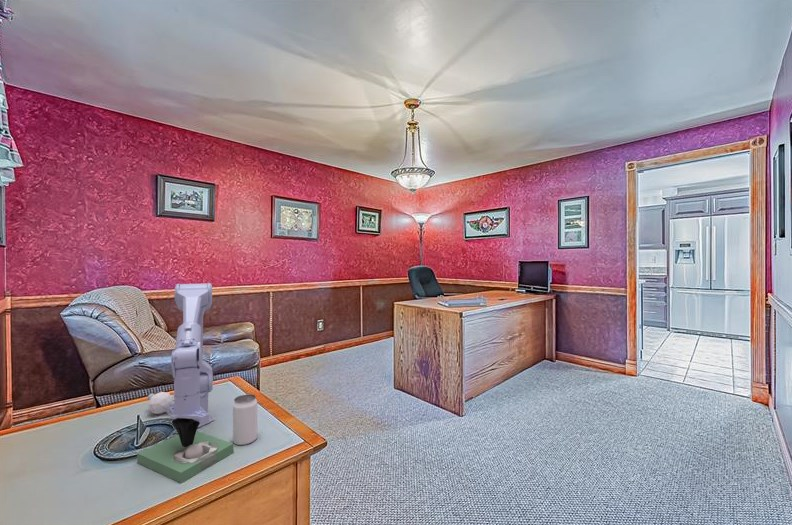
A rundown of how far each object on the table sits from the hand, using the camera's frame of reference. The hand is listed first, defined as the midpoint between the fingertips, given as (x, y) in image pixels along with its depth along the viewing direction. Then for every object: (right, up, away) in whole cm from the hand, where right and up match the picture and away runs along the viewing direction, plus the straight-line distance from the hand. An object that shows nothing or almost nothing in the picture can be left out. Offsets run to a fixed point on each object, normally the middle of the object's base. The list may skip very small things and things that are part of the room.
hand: (187, 444), depth 90 cm
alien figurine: (-24, -3, +26) cm, 36 cm away
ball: (+2, -1, -1) cm, 3 cm away
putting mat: (0, -3, 0) cm, 3 cm away
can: (+11, -4, +9) cm, 15 cm away
